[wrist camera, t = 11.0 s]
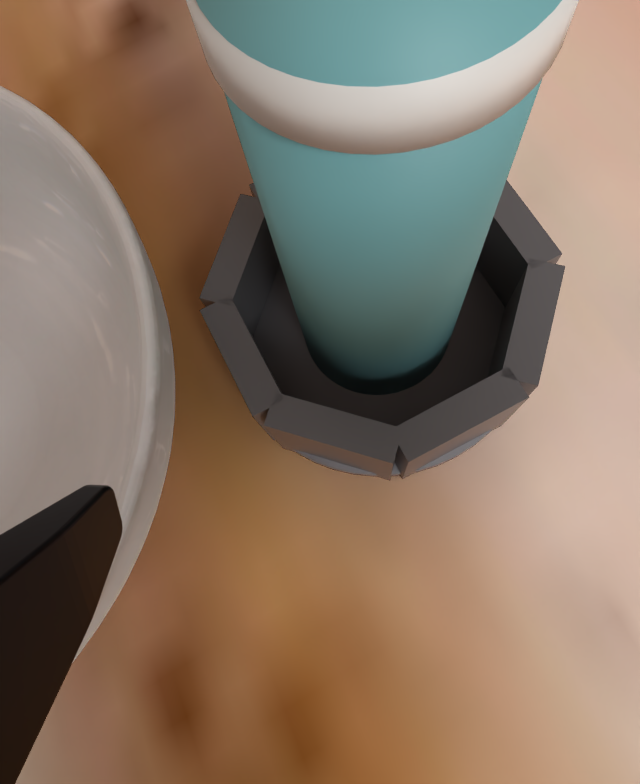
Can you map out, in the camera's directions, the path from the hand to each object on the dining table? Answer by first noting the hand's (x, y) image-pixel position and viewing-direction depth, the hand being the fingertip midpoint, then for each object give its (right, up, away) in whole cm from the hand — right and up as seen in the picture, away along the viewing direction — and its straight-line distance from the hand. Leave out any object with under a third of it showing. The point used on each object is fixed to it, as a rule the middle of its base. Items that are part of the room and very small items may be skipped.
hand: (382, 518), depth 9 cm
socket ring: (+1, +4, +11) cm, 12 cm away
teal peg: (+1, +4, +10) cm, 11 cm away
